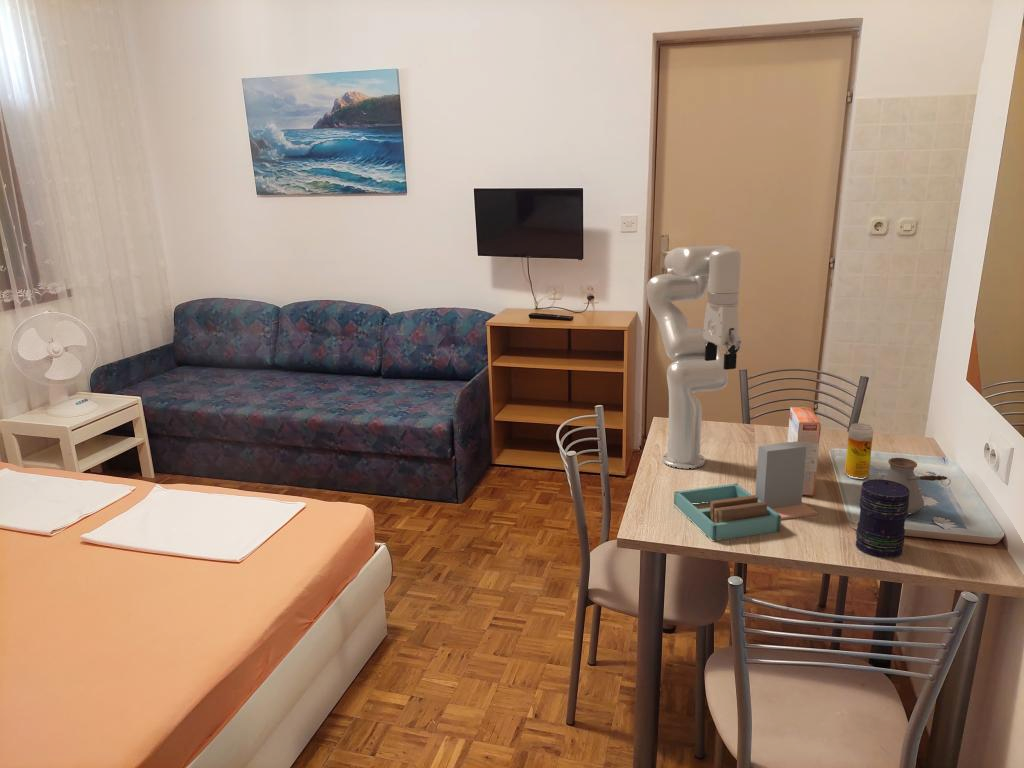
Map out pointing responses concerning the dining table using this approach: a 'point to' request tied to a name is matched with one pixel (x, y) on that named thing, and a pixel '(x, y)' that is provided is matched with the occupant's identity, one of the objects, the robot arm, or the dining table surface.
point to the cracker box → (806, 442)
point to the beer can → (859, 450)
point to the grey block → (780, 474)
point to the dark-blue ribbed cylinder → (882, 518)
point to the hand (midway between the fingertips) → (719, 364)
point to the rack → (725, 528)
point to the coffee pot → (909, 480)
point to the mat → (795, 511)
